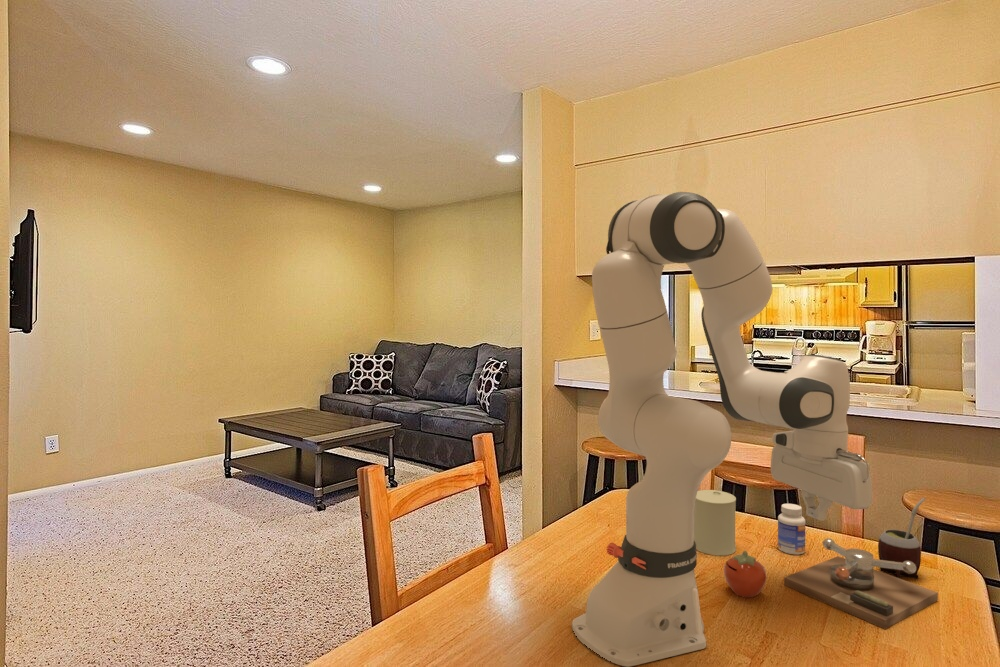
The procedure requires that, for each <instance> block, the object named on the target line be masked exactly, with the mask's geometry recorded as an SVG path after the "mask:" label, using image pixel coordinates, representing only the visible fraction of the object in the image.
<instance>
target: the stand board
mask: <svg viewBox="0 0 1000 667" xmlns="http://www.w3.org/2000/svg"><path fill="white" fill-rule="evenodd" d="M845 560H846V558H845V557H843V556H839V555H837V556H835V557H833V558H831V559H827V560H825V561H823V562H819V563H816V564H815V565H812V566H809V567H807V568H804V569H802V570H799V571H797V572H795V573H792V574H790V575H786V576H785V577H783V579H784V580H783V581H784V582H783V585H784V586H785V587H787V588H791V589H792V590H795V591H797V592H800V593H802V594H805V595H806V596H808V597H811V598H813V599H816V600H818V601H819V602H822V603H824V604H826V605H829V606H831V607H834V608H836V609H837V610H840V611H842V612H845V613H847V614H850V615H852V616H854V617H856V618H859V619H861V620H863V621H865V622H868V623H870V624H873V625H875V626H877V627H879V628H882V629H884V630H886V629H889V628H890V627H892V626H895V624H897V623H899V622H901V621H903V620H905V619H907V618H908V617H910V616H912V615H914V614H916V613H918V612H920V611H921V610H923V609H925V608H927V607H929V606H930V605H932V604H934V603H936V602H937V600H939V599H938V598H939V592H938V591H935V590H933V589H930V588H927V587H924V586H922V585H919V584H916V583H913V582H911V581H907V580H905V579H902V578H901V579H900V578H897V577H896V576H894V575H890V574H888V573H887V572H884V571H881V570H877V569H874V568H873V575H874V587H873V588H871V589H867V590H858V589H852V588H847V587H844V586H841V585H839V584H837V583H835V582H834V581H833V580H832V579H831V577H830V570H831V567H832V566H833V565H837V564H845Z"/></svg>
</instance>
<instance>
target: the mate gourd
mask: <svg viewBox="0 0 1000 667" xmlns="http://www.w3.org/2000/svg"><path fill="white" fill-rule="evenodd" d="M925 500H926V498H925V497H922V498H921V499H920V500H919V501H918V502H917V503H916V504H915V506H914V507H913V508H912V510H911V516H910V519H909V523H908V526H907V530H906V531H904V530H899V529H886V530H884V531H883V532H882V533H881V534H880V536H879V539H878V544H877V550H878V551H877V552H878V553H877V554H878V560H885V561H893V562H901V563H903V562H904V561H911V562H913V563H914V564H915V566H916V571H915V572H914V573H912V574H909V573H906V572H905V571H903V570H897V569H890V568H882V567H879V571H880V572H884V573H890V574H894V575H895V577H897V578H900V579H902V576H904V577H907V578H911V579H919V574H918V572H919V569H920V567H921V562H922V559H921V558H922V548H921V545H920V543H921V542H919V539H918V538H917V537H916V536H915V535H913V533H911V531H912V528H913V525H914V521H915V516H916V515H917V514H918V509H919V508H920V506H921V505H922V504H923V502H924V501H925Z"/></svg>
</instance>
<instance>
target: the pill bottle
mask: <svg viewBox="0 0 1000 667" xmlns="http://www.w3.org/2000/svg"><path fill="white" fill-rule="evenodd" d="M780 511H781V513H780V514H779V515H778V516H777V548H778V549H779V550H780V552H783V553H785V554H789V555H796V556H797V555H799V556H800V555H803V554H804V553H805V552H806V519H805V517H803V516H802V514H803V512H802V511H803V508H802V506H801V505H799V504H795V503H783V504H781V507H780Z"/></svg>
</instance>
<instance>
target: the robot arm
mask: <svg viewBox="0 0 1000 667" xmlns="http://www.w3.org/2000/svg"><path fill="white" fill-rule="evenodd" d="M605 247H606V248H605V250H606V251H605V252H606V255H604V256H603V257H601V258H600V259H599V260H598V261H597V262H596V263H595V264H594V267H593V269H592V273H591V283H592V296H593V304H594V309H595V315H596V318H597V322H598V323H597V324H598V327H599V331H600V335H601V339H602V343H603V348H604V352H605V355H606V356H605V357H606V360H607V364H608V372H609V385H608V386H609V387H608V393H607V396H606V398H604V400H603V401H602V403H601V405H600V408H599V410H598V417H597V418H598V419H597V422H598V427H599V430H600V432H601V434H602V435H603V436H604V437H605V438H606V440H609V441H610V442H611V443H612V444H614V445H615V446H617V447H619V448H620V449H621V450H624V451H627V452H630V453H633V454H636V455H639V456H642V457H645V459H646V468H645V473H644V475H643V478H642V480H639V481H638V482H636V483H634V485H632V486H631V487H630V488H629V489H628V491H627V493H626V497H625V499H626V503H625V504H626V506H625V508H626V509H625V512H626V513H625V515H626V516H625V517H626V519H625V520H626V522H625V523H626V524H625V526H626V530H625V532H626V533H625V535H624V536H623V540H622V543H621V546H620V545H617V544H616V543H614V542H610V543H608V544H607V546H606V553H607V554H608V555H610V556H612V557H613V558H616V559H617V561H616V563H615V564H614V565H613V566H612V567H611V569H610V570H609V571H608V572H607V573H606V574H605V575H604V576H603V578H601V580H600V581H599V582H598V583H597V584H595V586H594V587H593V588H592V589H591V590H590V592H589V593H588V597H587V602H586V607H585V608H586V609H585V613H584V612H583V613H582V614H580V615H579V616H577V617H575V618H573V619H572V622H571V629H572V632H573V631H574V632H573V633H575V634H574V635H575V637H576V636H577V637H576V638H577V639H578V641H580V642H581V643H582V644H583V645H584V644H585V645H586V646H587V647H586V646H585V645H584V646H585V647H586V648H588V649H589V648H590V649H591V650H590V649H589V650H590V651H592V650H593V651H594V652H596V653H597V654H599V655H600V656H599V655H598V656H599V657H601V658H602V657H603V658H602V659H604V658H605V659H604V660H606V659H607V660H606V661H609V662H610V661H611V662H610V663H612V664H616V665H618V666H622V667H634V666H639V665H643V664H646V663H650V662H654V661H658V660H663V659H666V658H670V657H676V656H679V655H680V656H681V655H683V654H684V655H685V654H687V653H691V652H696V651H700V650H703V649H705V648H707V640H706V639H707V638H706V637H705V634H704V630H705V625H704V622H703V618H702V615H701V614H702V613H701V608H700V605H701V604H700V598H699V590H698V585H697V580H696V574H695V573H696V572H695V569H696V567H697V564H698V562H697V558H698V553H697V550H696V543H695V541H694V511H695V500H696V495H697V492H698V491H699V488H700V486H701V483H702V482H703V480H704V478H705V477H706V476H707V474H709V473H710V472H711V471H712V470H713V469H716V468H717V467H719V466H720V465H721V464H722V463H723V462H724V460H725V459H726V458H727V456H728V454H729V452H730V449H731V445H732V438H733V437H732V430H731V429H732V428H731V425H730V423H729V421H728V419H727V418H726V416H725V415H724V414H723V413H722V412H721V411H719V410H717V409H715V408H713V407H711V406H709V405H707V404H705V403H702V402H700V401H699V400H695V399H689V398H684V397H678V396H673V395H668V393H667V392H666V390H665V387H664V377H665V376H664V373H665V372H666V371H668V369H670V368H671V366H673V364H674V363H675V360H676V358H677V349H676V348H677V347H676V343H675V339H674V336H673V335H674V334H673V331H672V327H671V322H670V318H669V314H668V310H667V306H666V303H665V302H666V301H665V298H664V295H663V292H662V275H663V271H664V268H665V265H671V264H672V265H674V264H686V265H687V267H688V268H689V269H690V271H691V274H692V276H693V278H694V280H695V284H696V285H697V288H698V291H699V292H700V295H701V299H702V303H703V304H702V305H703V307H702V308H701V323H702V328H703V331H704V335H705V339H706V342H707V345H708V347H709V350H710V354H711V357H712V361H713V364H714V367H715V370H716V373H717V377H718V381H719V388H720V390H719V391H720V392H719V393H720V398H721V403H722V405H723V408H724V409H725V411H726V412H727V414H728V415H729V416H731V417H732V418H734V419H736V420H738V421H746V422H753V423H754V422H755V423H761V424H765V425H769V426H774V427H780V428H785V429H790V430H787V431H781V432H774V433H773V434H772V438H771V439H772V440H771V441H772V443H773V445H774V446H773V448H772V450H771V456H770V474H771V476H772V478H773V479H774V480H775V481H778V482H781V484H784V485H785V484H786V485H787V486H790V487H793V488H796V489H799V490H801V497H802V500H803V503H804V505H805V507H806V508H805V509H806V510H805V515H806V516H807V517H811V518H812V519H815V520H816V521H819V522H820V521H821V522H822V521H825V520H827V511H828V510H829V509H830V507H831V506H832V504H833V503H835V504H839V505H841V506H843V507H846V508H849V509H852V510H866V509H869V507H870V506H871V505H872V503H873V487H872V486H873V485H872V477H871V473H870V464H869V462H868V461H867V460H866V459H865V458H864V456H863V455H862V454H860V453H857V452H856V453H855V452H851V451H849V450H848V441H849V440H848V439H849V426H848V422H847V415H848V412H849V408H850V399H851V398H850V397H851V386H850V385H851V384H850V375H849V370H848V367H847V366H848V365H847V364H846V363H845V362H844V361H843V360H841V359H839V358H837V357H832V356H826V355H825V356H824V355H821V354H820V355H819V354H805V355H802V356H801V357H800V360H799V362H798V363H796V364H797V365H795V366H794V367H791V368H790V369H788V370H785V371H784V372H776V371H775V372H774V371H767V370H761V369H759V368H758V367H755V366H754V365H753V364H751V363H750V361H749V359H748V354H747V351H746V348H745V345H744V341H743V339H742V335H741V334H742V333H741V330H740V329H741V325H744V324H746V323H747V322H749V321H750V320H752V319H753V318H754V317H756V316H758V315H759V314H760V313H761V312H762V311H763V310H764V309H765V308H766V306H767V305H768V304H769V302H770V299H771V297H772V294H773V284H772V283H773V282H772V279H771V274H770V272H769V269H768V267H767V265H766V263H765V261H764V259H763V256H762V254H761V252H760V249H759V247H758V246H757V243H756V242H755V240H754V238H753V237H752V235H751V233H750V232H749V230H748V228H747V227H746V226H745V224H744V223H743V221H742V220H741V218H740V217H739V215H738V214H737V213H736V212H734V211H733V210H730V209H727V208H716V206H715V205H714V204H713V203H712V202H711V201H710V200H709V199H707V198H706V197H704V196H703V195H700V194H699V193H694V192H687V191H678V192H677V191H676V192H672V193H668V194H653V195H648V196H645V197H642V198H640V199H636V200H632V201H629V202H627V203H626V204H624V205H623V206H621V207H620V208H619V209H618V210H617V211H616V212H615V213H614V214H613V216H612V218H611V219H610V223H609V225H608V230H607V245H606V246H605ZM815 498H816V499H815ZM816 501H817V502H818V504H817V503H816ZM593 651H592V652H593ZM594 652H593V653H594ZM596 653H595V654H596ZM597 654H596V655H597Z"/></svg>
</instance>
